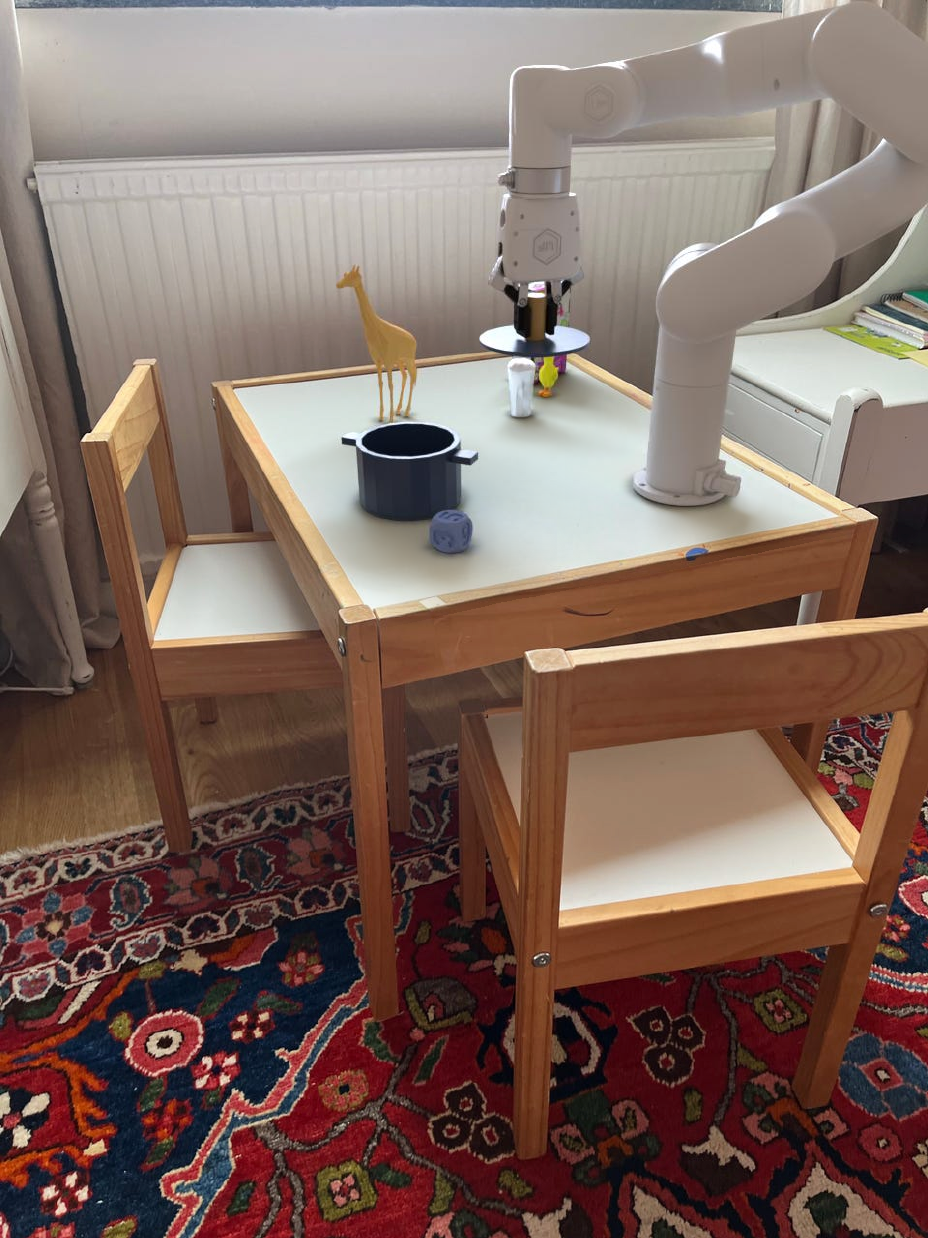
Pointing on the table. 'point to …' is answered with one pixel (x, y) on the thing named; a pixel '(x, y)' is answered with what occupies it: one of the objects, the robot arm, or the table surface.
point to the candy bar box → (561, 321)
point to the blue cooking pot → (409, 469)
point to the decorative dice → (451, 531)
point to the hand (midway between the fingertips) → (535, 332)
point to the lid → (535, 336)
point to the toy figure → (547, 376)
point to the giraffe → (384, 344)
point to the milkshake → (521, 386)
